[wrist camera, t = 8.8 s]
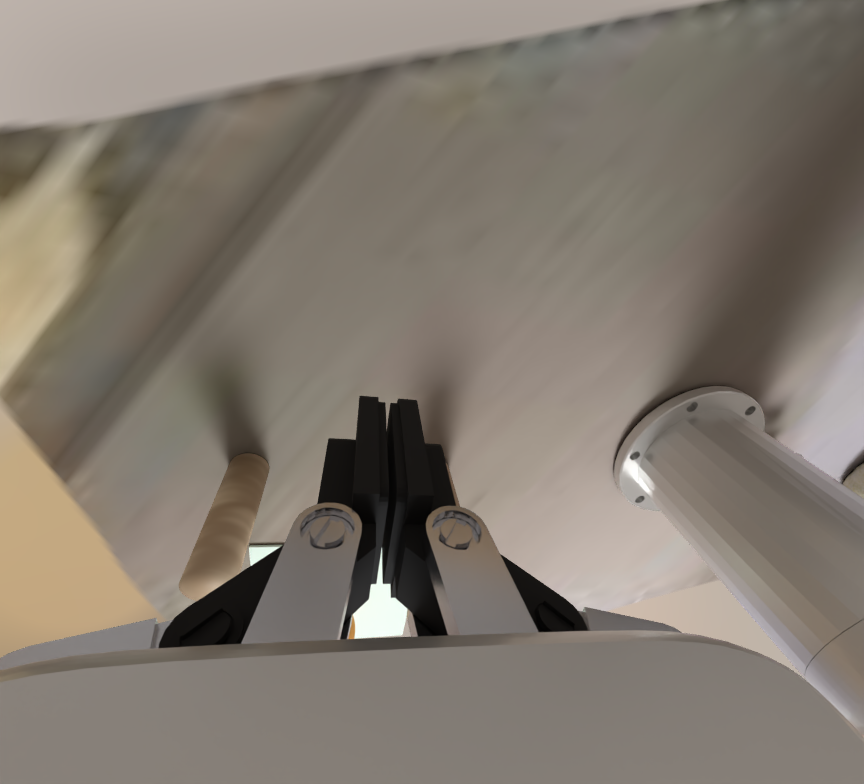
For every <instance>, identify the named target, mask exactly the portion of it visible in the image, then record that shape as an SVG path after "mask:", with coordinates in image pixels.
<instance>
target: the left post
mask: <svg viewBox="0 0 864 784" xmlns="http://www.w3.org/2000/svg"><path fill="white" fill-rule="evenodd" d="M268 473H269V465H268V463H267V461H266V460H265V459H264V458H262V457H261V456H259V455H256V454H252V453H244V454H240V455H237V456H235V457H234V458H233V459H232V460H231V462H230V464H229V466H228V469H227V471H226V473H225V476H224V478H223V480H222V483H221V485H220V488H219V490H218V492H217V495H216V497H215V499H214V502H213V504H212V507H211V509H210V511H209V514H208V516H207V518H206V521H205V523H204V525H203V528H202V530H201V533H200V535H199V537H198V540H197V542H196V544H195V547H194V549H193V552H192V554H191V556H190V559H189V561H188V563H187V566H186V568H185V570H184V573H183V575H182V578H181V580H180V582H179V589H180V591H181V592H182V594H184V595H185V596H186V597H188V598H190V599H192V600H195V601H198V600H200V599H201V598H203V597H204V596H206V595H207V594H209V593H210V592H212V591H213V590H215V589H216V588H218V587H219V586H221V585H222V584H224V583H226V582H227V581H229V580H230V579H232V578H233V577H235V576H236V575H238V574H239V573H240V571H241V568H242V564H243V561H244V557H245V554H246V550H247V547H248V543H249V540H250V536H251V533H252V529H253V526H254V522H255V519H256V515H257V512H258V508H259V505H260V501H261V498H262V494H263V491H264V487H265V484H266V480H267V477H268Z"/></svg>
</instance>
